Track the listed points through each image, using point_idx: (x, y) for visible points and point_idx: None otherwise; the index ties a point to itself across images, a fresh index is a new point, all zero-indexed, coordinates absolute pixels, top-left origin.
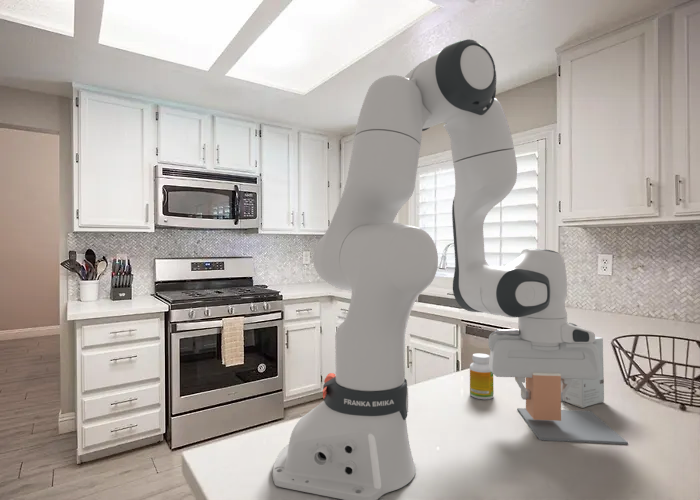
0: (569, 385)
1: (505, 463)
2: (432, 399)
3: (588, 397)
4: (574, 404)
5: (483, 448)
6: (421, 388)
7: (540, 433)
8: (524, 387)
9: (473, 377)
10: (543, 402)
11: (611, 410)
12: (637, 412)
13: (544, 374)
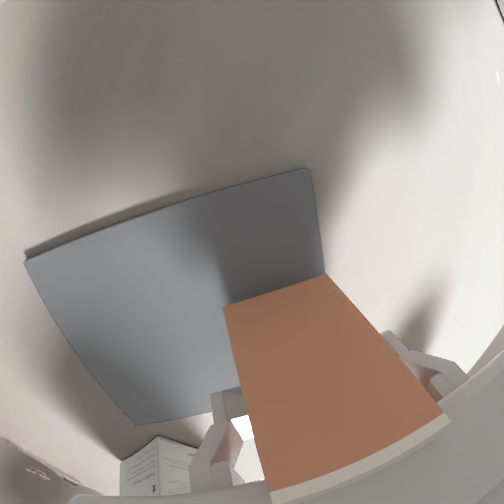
0: (198, 459)
1: (398, 3)
2: (478, 320)
3: (145, 463)
4: (177, 443)
5: (444, 77)
6: (473, 357)
7: (300, 211)
8: (416, 363)
9: None
10: (319, 329)
11: (98, 438)
12: (56, 435)
13: (386, 455)
